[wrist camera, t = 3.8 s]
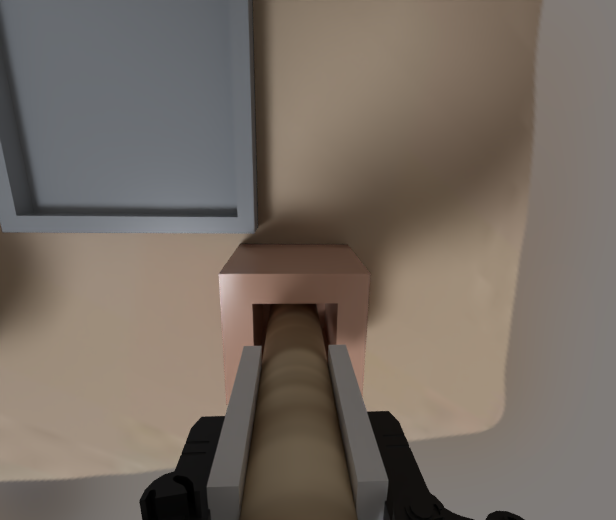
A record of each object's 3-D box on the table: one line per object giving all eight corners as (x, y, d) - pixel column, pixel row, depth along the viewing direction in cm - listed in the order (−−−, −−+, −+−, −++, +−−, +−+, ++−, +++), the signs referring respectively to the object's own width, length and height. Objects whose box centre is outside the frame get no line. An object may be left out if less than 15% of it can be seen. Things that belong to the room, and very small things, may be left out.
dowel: (270, 284, 21) (216, 590, 6) (316, 284, 21) (385, 582, 6) (270, 327, 22) (225, 696, 7) (315, 326, 22) (374, 686, 7)
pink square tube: (240, 244, 23) (218, 273, 16) (347, 244, 23) (370, 273, 17) (243, 342, 25) (226, 404, 18) (343, 341, 25) (362, 401, 19)
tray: (-56, -212, 16) (-113, -276, 14) (247, -191, 17) (241, -248, 15) (32, 225, 22) (2, 232, 20) (258, 227, 23) (254, 233, 21)
